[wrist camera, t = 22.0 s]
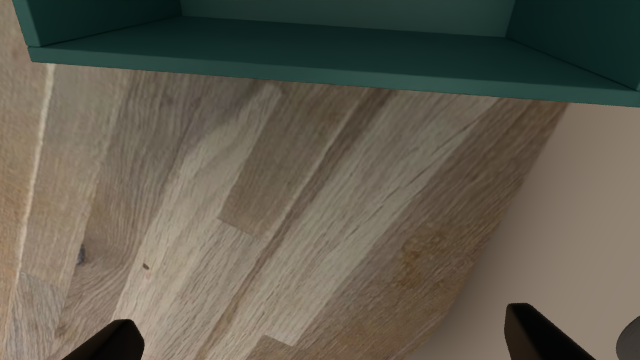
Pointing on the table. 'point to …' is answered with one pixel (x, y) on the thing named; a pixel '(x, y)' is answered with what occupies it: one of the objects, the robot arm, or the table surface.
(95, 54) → the open box
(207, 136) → the table surface
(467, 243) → the table surface
